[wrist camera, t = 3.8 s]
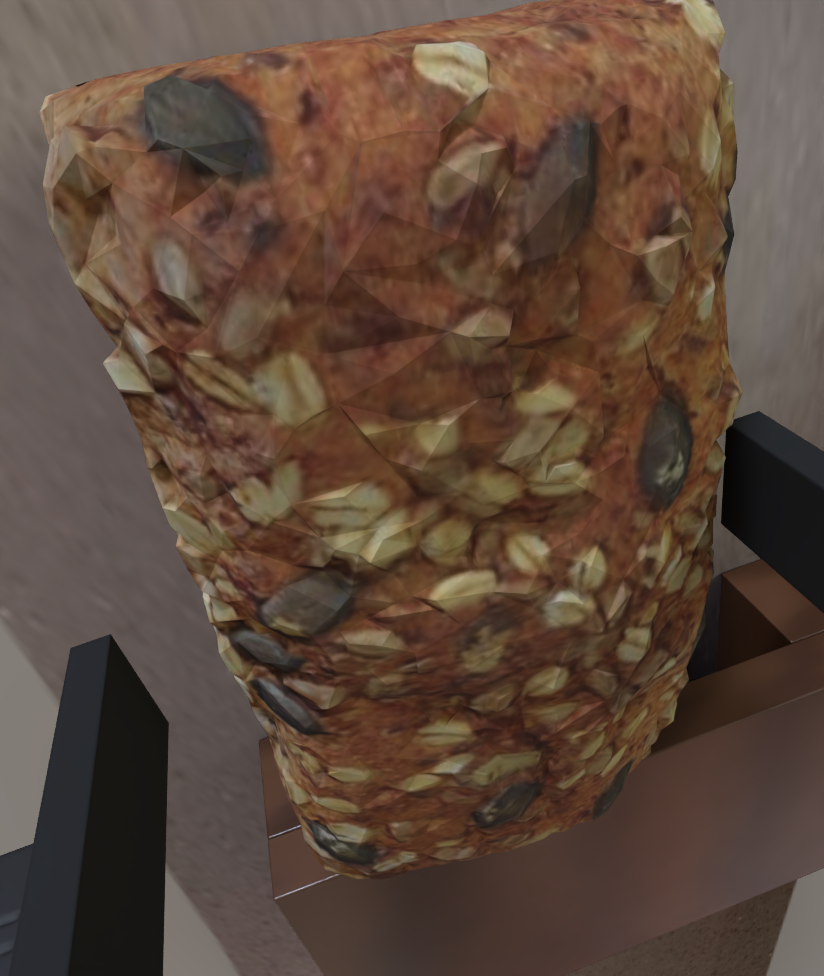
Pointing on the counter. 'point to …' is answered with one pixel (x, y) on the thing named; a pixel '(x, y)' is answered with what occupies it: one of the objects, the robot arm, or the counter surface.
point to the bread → (428, 394)
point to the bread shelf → (607, 828)
